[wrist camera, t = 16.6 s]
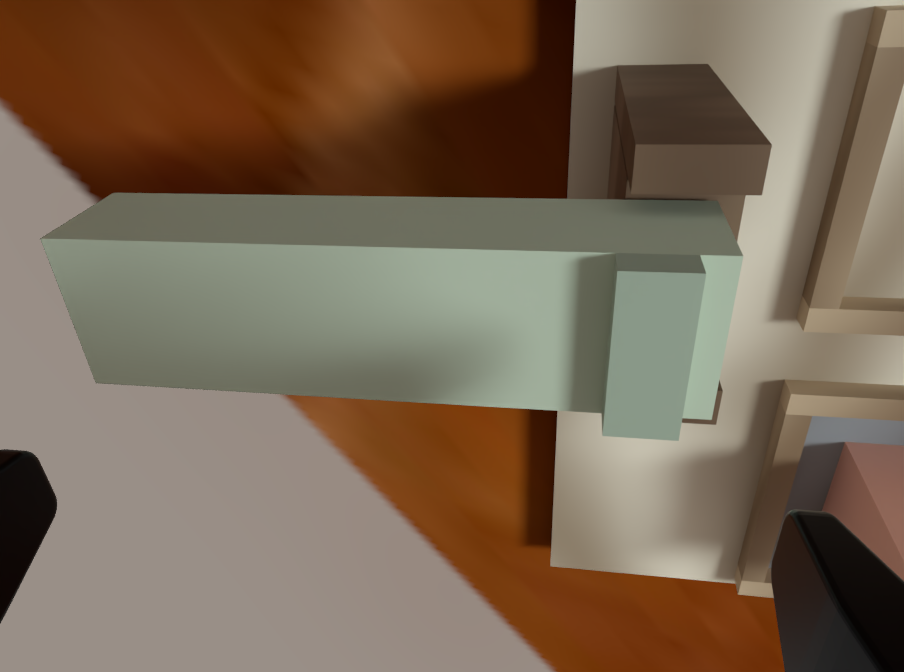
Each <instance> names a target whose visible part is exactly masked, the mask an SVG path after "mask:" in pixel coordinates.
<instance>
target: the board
mask: <svg viewBox="0 0 904 672" xmlns="http://www.w3.org/2000/svg"><path fill="white" fill-rule="evenodd" d="M567 199H619V200H693V201H718V202H719V204H720V207H721V209H722V211H723V213H724V215H725V217H726V220H727V222H728V224H729V226H730V228H731V230H732V233H733V235H734V237H735V239H736V241H737V243H738V245H739V248H740V250H741V252H742V254H743V261H742V266H741V271H740V276H739V282H738V287H737V292H736V297H735V302H734V307H733V312H732V318H731V323H730V328H729V333H728V338H727V343H726V348H725V354H724V359H723V364H722V369H721V374H720V379H719V384H718V390H717V395H716V400H715V405H714V410H713V415H712V420H705V419H688V418H682V423H681V429H680V435H679V441H671V440H656V439H640V438H625V437H610V436H602V414H601V413H587V412H571V411H557V432H556V454H555V476H554V498H553V520H552V542H551V565H550V566H554V567H565V568H576V569H586V570H597V571H608V572H618V573H629V574H639V575H650V576H661V577H671V578H682V579H693V580H703V581H714V582H725V583H735V584H736V587H737V592H738V594H739V595H749V596H759V597H770V598H774V596H773V590H772V583H771V563H772V558H773V555H774V551H775V548H776V544H777V541H778V538H779V534H780V531H781V527H782V524H783V520H784V518H785V516H786V514H787V513H788V512H789V511H791V510H794V509H798V510H811V511H822V509H823V506H824V503H825V500H826V497H827V494H828V491H829V488H830V485H831V482H832V479H833V476H834V473H835V470H836V467H837V464H838V461H839V458H840V455H841V452H842V449H843V446H844V443H845V442H857V443H872V444H887V445H902V446H904V0H576V14H575V36H574V58H573V80H572V102H571V124H570V146H569V168H568V190H567Z"/></svg>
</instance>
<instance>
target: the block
mask: <svg viewBox="0 0 904 672" xmlns="http://www.w3.org/2000/svg"><path fill="white" fill-rule="evenodd" d="M822 511H824V512H828V513H830V514H832V515H834V516H835V517H836V518H838V519H839V520H840V521H841V522H842V523H843V524H844V525H845V526H846V527H847V528H848V529H849V530H850V531H851V532H852V533H853V534H855V535H856V536H857V537H858V538H859V539H860V540H861V541H862V542H863V543H864V544H865V545H866V546H867V547H868V548H869V549H870V550H871V551H873V552H874V553H875V554H876V555H877V556H878V557H879V558H880V559H881V560H882V561H883V562H884V563H885V564H886V565H887V566H888V567H890V568H891V569H892V570H893V571H894V572H895V573H896V574H897V575H898V576H899V577H900V578H901V579H902V580H903V581H904V446H902V445H887V444H872V443H857V442H845V443H844V446H843V449H842V452H841V455H840V458H839V461H838V464H837V467H836V470H835V473H834V476H833V479H832V482H831V485H830V488H829V491H828V494H827V497H826V500H825V503H824V506H823V509H822Z"/></svg>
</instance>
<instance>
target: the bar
mask: <svg viewBox="0 0 904 672" xmlns="http://www.w3.org/2000/svg"><path fill="white" fill-rule="evenodd" d="M41 242H42V244H43V247H44V249H45V252H46V255H47V257H48V260H49V262H50V265H51V268H52V270H53V273H54V275H55V278H56V281H57V283H58V286H59V289H60V291H61V294H62V296H63V299H64V301H65V304H66V307H67V309H68V312H69V314H70V317H71V320H72V322H73V325H74V327H75V330H76V333H77V335H78V338H79V340H80V343H81V346H82V348H83V351H84V353H85V356H86V359H87V361H88V364H89V366H90V369H91V372H92V374H93V377H94V379H95V382H96V383H102V384H121V385H136V386H153V387H154V386H155V387H169V388H186V389H203V390H220V391H236V392H253V393H270V394H286V395H303V396H320V397H337V398H353V399H370V400H387V401H403V402H420V403H437V404H454V405H470V406H487V407H504V408H521V409H537V410H554V411H571V412H587V413H601V414H602V436H610V437H625V438H640V439H656V440H671V441H679V435H680V429H681V423H682V418H688V419H705V420H712V415H713V410H714V405H715V400H716V395H717V390H718V384H719V379H720V374H721V369H722V364H723V359H724V354H725V348H726V343H727V338H728V333H729V328H730V323H731V318H732V312H733V307H734V302H735V297H736V292H737V287H738V282H739V276H740V271H741V266H742V261H743V254H742V252H741V250H740V248H739V245H738V243H737V241H736V239H735V237H734V235H733V233H732V230H731V228H730V226H729V224H728V222H727V220H726V217H725V215H724V213H723V211H722V209H721V207H720V204H719V202H718V201H693V200H619V199H544V198H469V197H395V196H320V195H245V194H170V193H112V194H111V195H109V196H107V197H106V198H104V199H103V200H101V201H99V202H98V203H96V204H95V205H93V206H91V207H90V208H88V209H87V210H85V211H84V212H82V213H80V214H79V215H77V216H76V217H74V218H72V219H71V220H69V221H68V222H66V223H65V224H63V225H61V226H60V227H58V228H56V229H55V230H53V231H52V232H50V233H49V234H47V235H45V236H44V237H42V238H41Z"/></svg>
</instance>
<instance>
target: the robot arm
mask: <svg viewBox="0 0 904 672" xmlns="http://www.w3.org/2000/svg"><path fill="white" fill-rule="evenodd" d="M56 510H57V499H56V496H55V493H54V492H53V489H52V487H51V485H50V483H49V481H48V479H47V476H46V474H45V472H44V470H43V468H42V466H41V464H40V462H39V460H38V458H37V457H36V456H35V455H34V454H33V453H31V452H28V451H18V450H5V449H4V450H0V623H1V621H2V619H3V617H4V616H5V614H6V612H7V610H8V608H9V606H10V604H11V602H12V600H13V598H14V596H15V594H16V592H17V590H18V588H19V586H20V584H21V582H22V580H23V578H24V576H25V574H26V572H27V570H28V568H29V566H30V565H31V563H32V561H33V559H34V556H35V555H36V553H37V551H38V549H39V547H40V545H41V543H42V541H43V539H44V537H45V535H46V533H47V531H48V529H49V527H50V525H51V523H52V521H53V519H54V517H55V514H56ZM771 583H772V590H773V596H774V603H775V609H776V616H777V622H778V629H779V635H780V642H781V648H782V655H783V661H784V668H785V672H904V581H903V580H902V579H901V578H900V577H899V576H898V575H897V574H896V573H895V572H894V571H893V570H892V569H891V568H890V567H888V566H887V565H886V564H885V563H884V562H883V561H882V560H881V559H880V558H879V557H878V556H877V555H876V554H875V553H874V552H873V551H871V550H870V549H869V548H868V547H867V546H866V545H865V544H864V543H863V542H862V541H861V540H860V539H859V538H858V537H857V536H856V535H855V534H853V533H852V532H851V531H850V530H849V529H848V528H847V527H846V526H845V525H844V524H843V523H842V522H841V521H840V520H839V519H838V518H836V517H835V516H834V515H832V514H830V513H828V512H824V511H811V510H798V509H794V510H791V511H789V512H788V513H787V514H786V516H785V518H784V520H783V524H782V527H781V531H780V534H779V538H778V541H777V544H776V548H775V551H774V555H773V558H772V563H771Z"/></svg>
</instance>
